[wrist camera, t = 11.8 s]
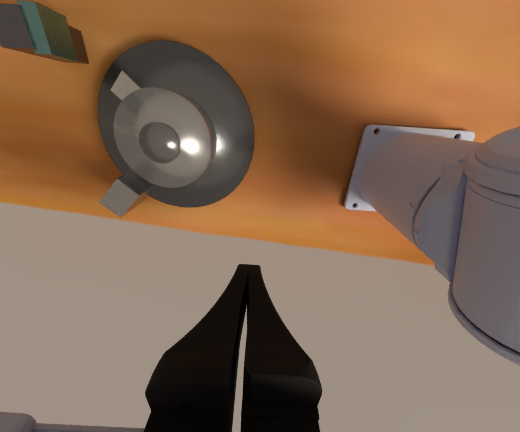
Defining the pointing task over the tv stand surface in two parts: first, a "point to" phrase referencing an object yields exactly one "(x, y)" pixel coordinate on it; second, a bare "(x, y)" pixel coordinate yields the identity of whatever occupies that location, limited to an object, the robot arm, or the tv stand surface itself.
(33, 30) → the stacked blocks
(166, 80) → the turntable
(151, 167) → the cover
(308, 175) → the tv stand surface
